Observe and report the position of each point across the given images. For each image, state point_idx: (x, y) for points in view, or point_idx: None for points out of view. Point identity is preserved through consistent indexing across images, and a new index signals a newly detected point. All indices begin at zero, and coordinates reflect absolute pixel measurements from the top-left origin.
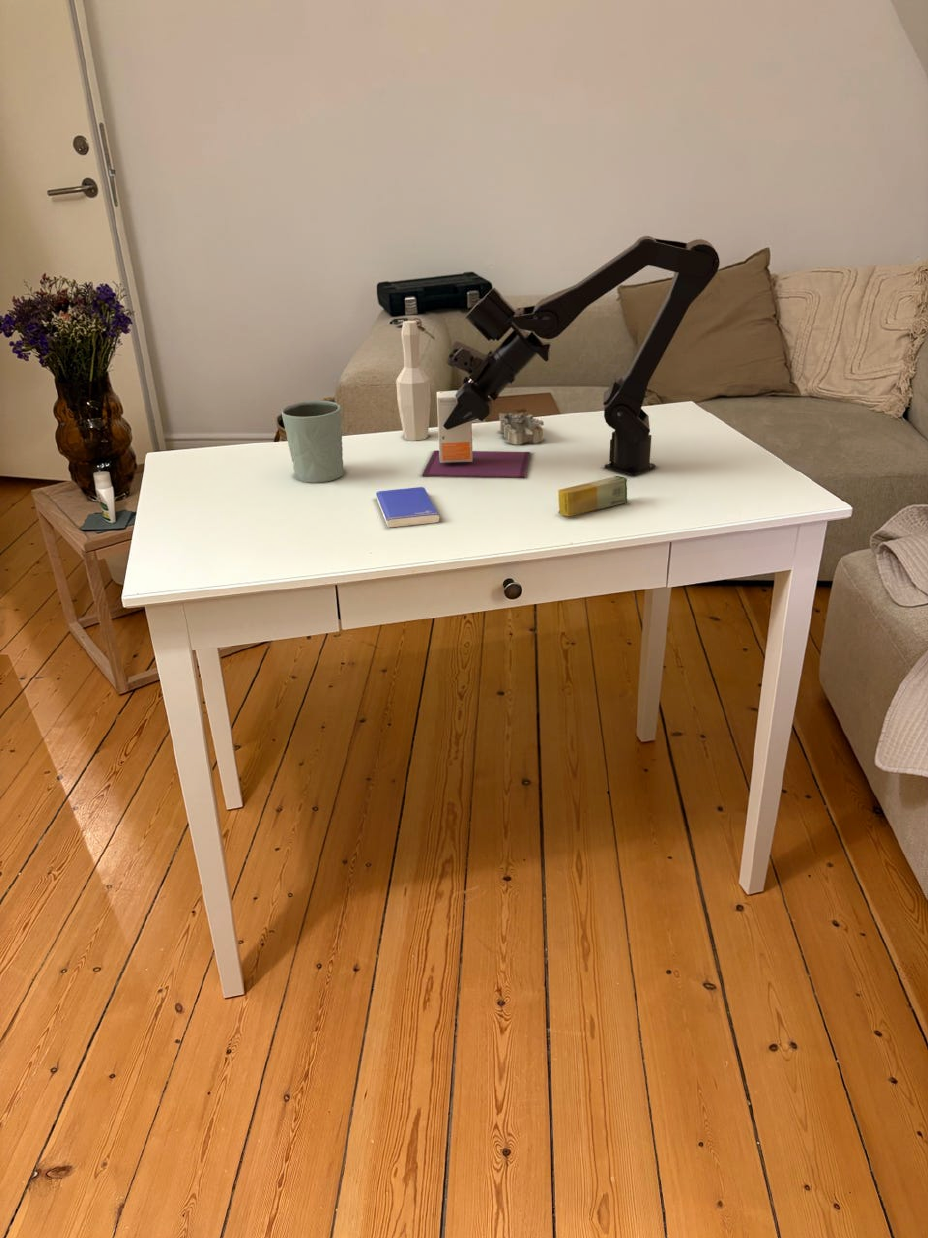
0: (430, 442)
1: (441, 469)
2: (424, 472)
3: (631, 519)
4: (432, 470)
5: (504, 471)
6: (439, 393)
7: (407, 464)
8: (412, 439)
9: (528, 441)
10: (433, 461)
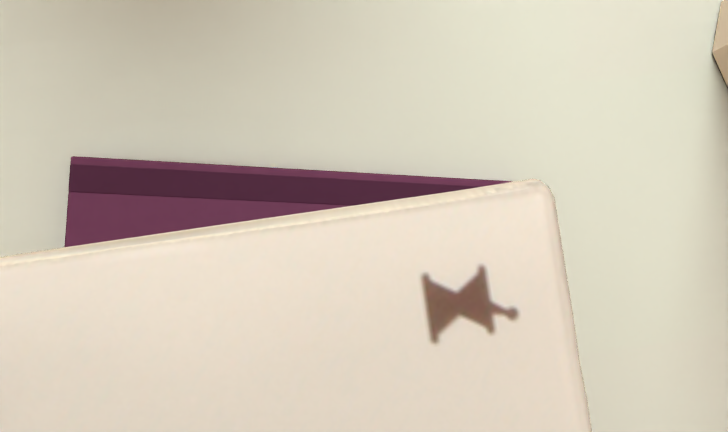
0: (687, 141)
1: None
2: (101, 167)
3: None
4: (140, 214)
5: None
6: (361, 275)
7: (302, 45)
8: (718, 33)
9: None
10: (316, 200)
